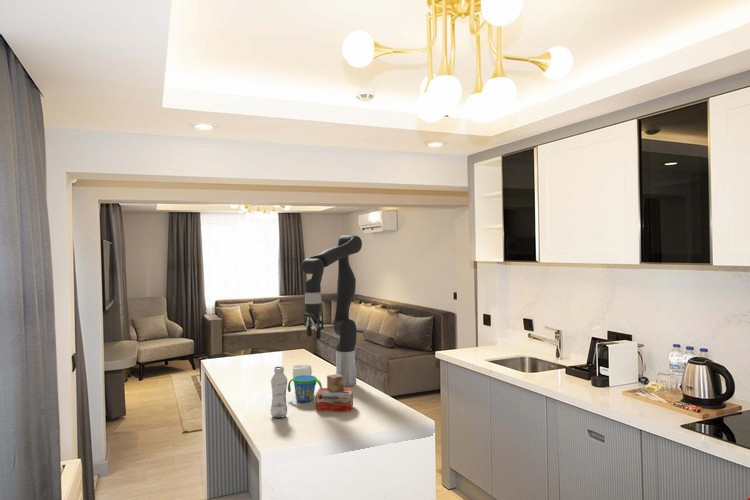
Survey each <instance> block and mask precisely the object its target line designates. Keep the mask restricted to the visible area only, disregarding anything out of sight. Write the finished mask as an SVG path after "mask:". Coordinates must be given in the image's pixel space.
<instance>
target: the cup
mask: <svg viewBox="0 0 750 500" xmlns="http://www.w3.org/2000/svg"><path fill="white" fill-rule="evenodd" d="M312 373H313V371H312V366H311V365H308V364H298V365H294V366H293V367H292V379H293V378H294V377H296V376H301V375H311V376H313V374H312ZM293 386H294V385H293ZM294 388H295V386H294Z"/></svg>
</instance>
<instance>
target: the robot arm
mask: <svg viewBox="0 0 750 500" xmlns="http://www.w3.org/2000/svg"><path fill="white" fill-rule="evenodd" d="M362 247H363V242H362V238H361V237H360V236H358V235H354V234H352V235H351V234H349V235H346V234H344V235H340V237H339V239H338V241H337V246H334V247H331V248H327V249H325V250H324V251H322V252H320V253H319V254H317V255H312V256H310V257H307V258H305V259H303V261H302V262H301V265H300V267H301V271H302V273H304V274H306V275H307V274H308V275H311V278H309V279H306V280H305V283H304V285H305V286H304V290H305V291H304V293H305V294H304V314H303V326H304V327H305V329H306V336H307V337H312V336H313V335H312V331H313V330H312V327H314V330H315V339H316V340H320V339H321V338H322V337H321V336H322V335H321V334H322V330H324V329H325V328H324V316H323V315H320V313H322V294H321V290H322V289H321V283H322V279H323V275H324V270H325V268H327V267H329V266H331V265H332V264H334V263H336V262H338V270H337V272H338V273H337V286H336V287H337V288H336V309H335V315H334V320H333V322H334V323H333V330H334V333H335V334H336V335H337V336H339V342H338V344H336V346H335V347H336V349H335V351H336V352H335V355H336V356H335V357H336V358H335V359H336V361H335V362H336V363H335V367H336V368H335V369H336V371H335V372H336V373H335V374H339V375H341V376H343V388H346V387H347V388H348V387H354V386H355V385H357V365H356V362H355V359H356V358H355V357H356V356H355V354H356V351H355V348H356V344H357V333H358V332H357V331H358V329H357V324H356V322H355V321H354V320H353V319H350V308H351V307H350V306H351V304H352V301H353V299H354V297H355V293H356V286H357V285H356V283H357V282H356V277H355V273H354V272H353V269H352V268H351V265H350V262H349V261H350V258H349V257H350V256H351V255H354V254H357V253H360V251H361V249H362Z"/></svg>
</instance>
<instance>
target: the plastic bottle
mask: <svg viewBox="0 0 750 500" xmlns="http://www.w3.org/2000/svg"><path fill="white" fill-rule="evenodd" d="M284 369H285V368H284V366H275V367H274V368H273V373H274V374H273V375H272V377H271V380H270V384H271V395H272V399H271V405H270V406H271V407H270V416H271V417H273V418H277V419H278V418H284V417H286V415H287V414H288V406H287V389H288V377H287V376H286V375H285V373H284V372H285V370H284Z"/></svg>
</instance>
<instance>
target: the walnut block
mask: <svg viewBox="0 0 750 500" xmlns="http://www.w3.org/2000/svg"><path fill="white" fill-rule="evenodd" d="M326 378H327V379H326V388H327V390H329V391H332V392H337V391H342V390H343V388H344V387H343V376H341V375H339V374H336V373H335V374H334V373H333V374H329V375H327V376H326Z"/></svg>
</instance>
